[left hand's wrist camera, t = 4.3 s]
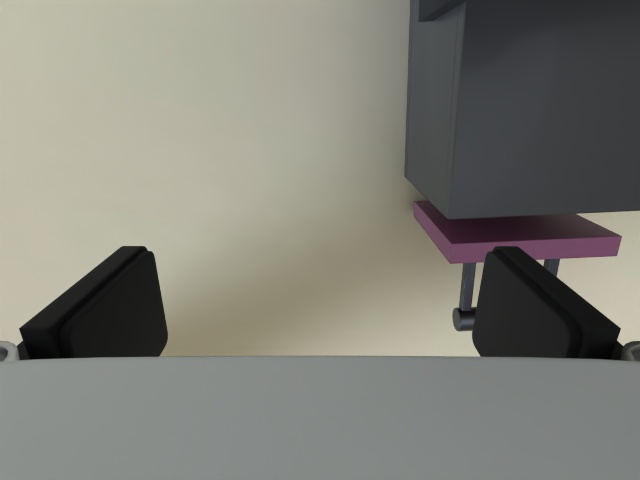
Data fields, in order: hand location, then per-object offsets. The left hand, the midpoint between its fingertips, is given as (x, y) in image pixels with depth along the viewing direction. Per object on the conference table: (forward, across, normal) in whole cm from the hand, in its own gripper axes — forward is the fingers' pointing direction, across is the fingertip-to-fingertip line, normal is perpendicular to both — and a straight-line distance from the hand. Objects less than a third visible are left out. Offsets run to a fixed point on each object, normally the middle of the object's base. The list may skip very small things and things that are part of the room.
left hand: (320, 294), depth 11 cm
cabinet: (+19, -11, -7) cm, 23 cm away
